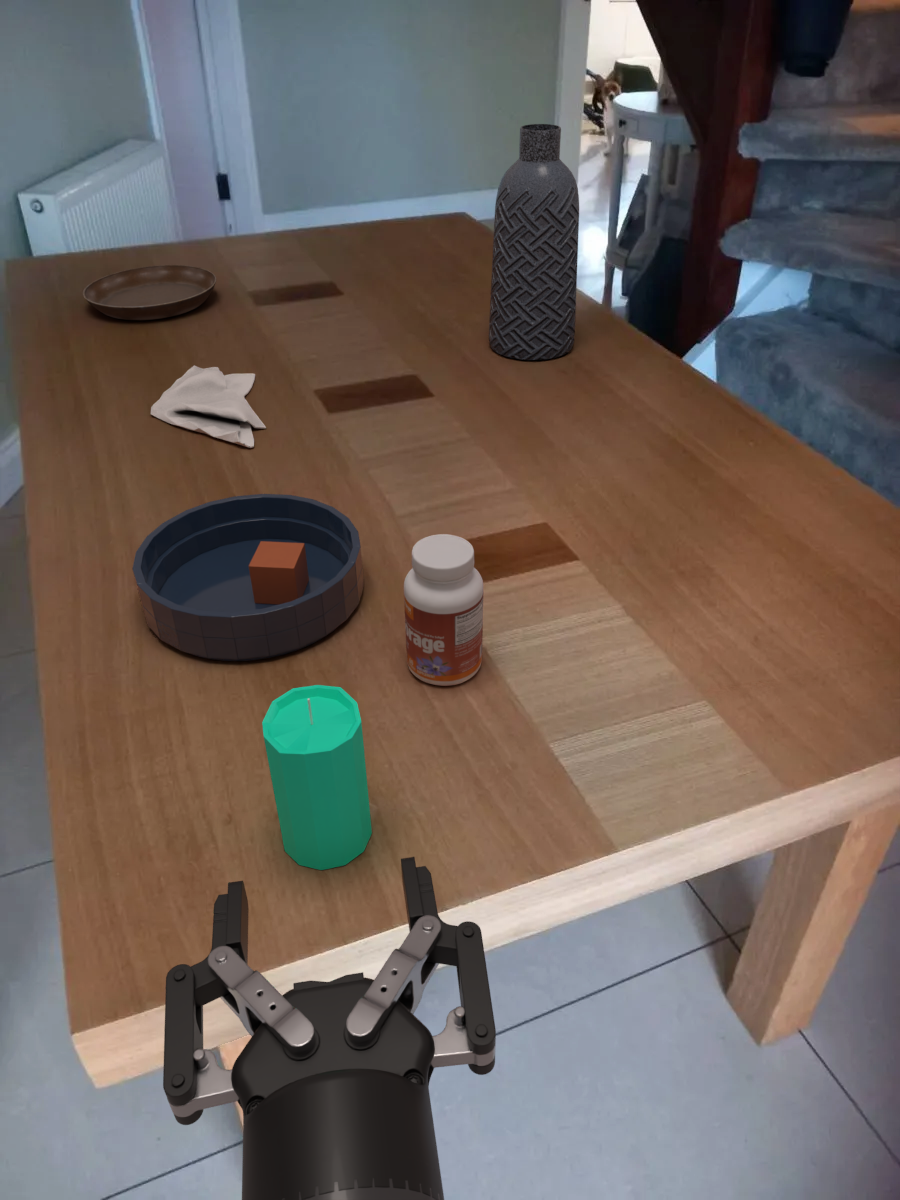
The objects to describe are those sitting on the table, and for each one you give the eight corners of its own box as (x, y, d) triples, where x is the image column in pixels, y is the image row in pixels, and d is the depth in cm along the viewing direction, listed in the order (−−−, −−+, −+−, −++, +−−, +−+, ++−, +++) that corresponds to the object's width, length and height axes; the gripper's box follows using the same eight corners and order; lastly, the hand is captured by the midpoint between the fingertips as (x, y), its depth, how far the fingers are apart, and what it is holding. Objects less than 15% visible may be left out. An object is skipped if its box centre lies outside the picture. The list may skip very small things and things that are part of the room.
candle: (318, 786, 64) (300, 654, 57) (389, 820, 62) (379, 686, 55) (262, 845, 60) (235, 711, 53) (336, 884, 58) (318, 749, 51)
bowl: (110, 658, 76) (95, 609, 73) (187, 533, 92) (178, 489, 89) (340, 671, 74) (335, 622, 71) (379, 542, 90) (376, 498, 87)
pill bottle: (391, 662, 75) (383, 549, 69) (446, 630, 79) (444, 519, 72) (442, 700, 72) (439, 583, 65) (498, 664, 75) (501, 550, 68)
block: (254, 603, 81) (248, 566, 79) (266, 577, 84) (260, 540, 82) (299, 605, 81) (293, 568, 78) (309, 579, 84) (304, 542, 82)
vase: (487, 361, 127) (490, 136, 110) (489, 330, 137) (493, 119, 120) (575, 363, 126) (592, 136, 110) (571, 331, 136) (586, 118, 119)
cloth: (155, 373, 125) (151, 357, 124) (257, 364, 127) (255, 348, 126) (147, 460, 104) (142, 442, 103) (269, 447, 107) (266, 429, 105)
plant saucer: (79, 331, 138) (74, 309, 136) (94, 289, 155) (89, 269, 153) (219, 320, 141) (215, 299, 139) (219, 280, 158) (216, 260, 156)
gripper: (541, 1162, 32) (461, 809, 45) (121, 1241, 30) (164, 850, 43) (533, 1247, 36) (463, 903, 49) (166, 1320, 35) (193, 944, 48)
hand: (323, 879), depth 46 cm, fingers open, 8 cm apart
